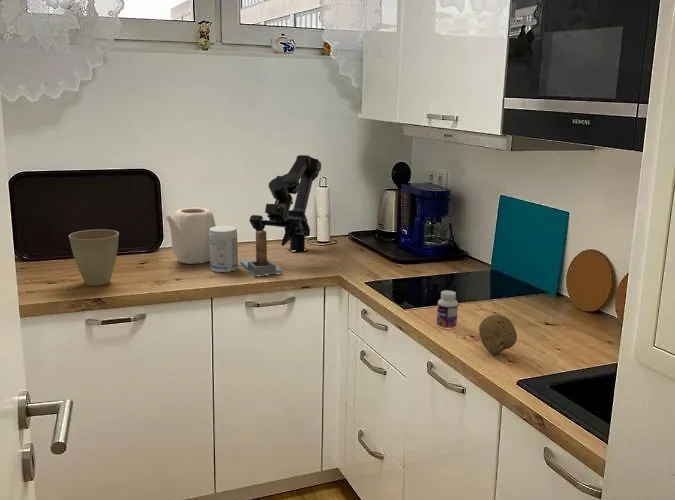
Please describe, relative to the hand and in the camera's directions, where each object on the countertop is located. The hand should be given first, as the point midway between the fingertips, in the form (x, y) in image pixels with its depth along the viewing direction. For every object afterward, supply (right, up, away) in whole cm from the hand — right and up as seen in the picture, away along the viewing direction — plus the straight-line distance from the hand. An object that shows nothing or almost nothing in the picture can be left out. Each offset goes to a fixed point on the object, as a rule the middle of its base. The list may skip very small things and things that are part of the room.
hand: (270, 244), depth 238 cm
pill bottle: (+53, -23, -52) cm, 78 cm away
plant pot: (-53, -13, -20) cm, 58 cm away
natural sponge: (+63, -28, -70) cm, 98 cm away
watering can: (-29, -6, +8) cm, 31 cm away
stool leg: (-2, -9, -5) cm, 10 cm away
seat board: (-3, -9, 0) cm, 9 cm away
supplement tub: (-16, -9, -1) cm, 18 cm away
